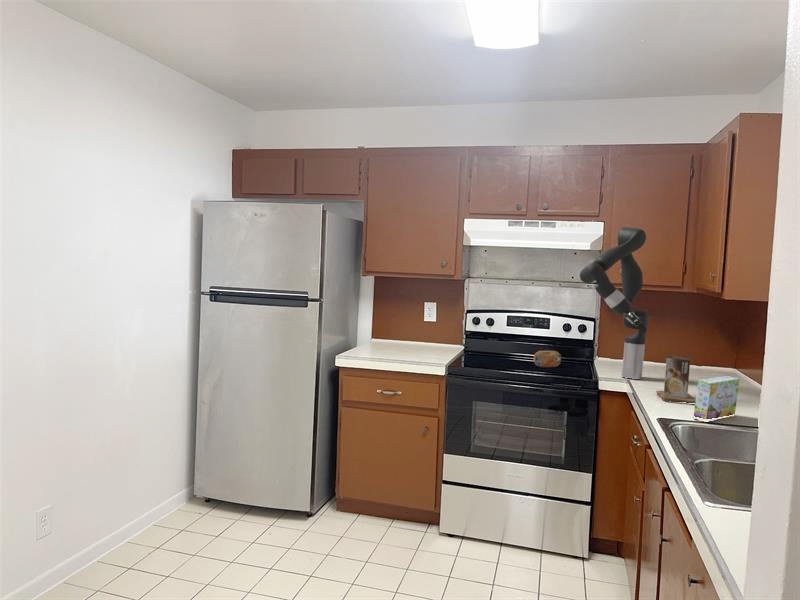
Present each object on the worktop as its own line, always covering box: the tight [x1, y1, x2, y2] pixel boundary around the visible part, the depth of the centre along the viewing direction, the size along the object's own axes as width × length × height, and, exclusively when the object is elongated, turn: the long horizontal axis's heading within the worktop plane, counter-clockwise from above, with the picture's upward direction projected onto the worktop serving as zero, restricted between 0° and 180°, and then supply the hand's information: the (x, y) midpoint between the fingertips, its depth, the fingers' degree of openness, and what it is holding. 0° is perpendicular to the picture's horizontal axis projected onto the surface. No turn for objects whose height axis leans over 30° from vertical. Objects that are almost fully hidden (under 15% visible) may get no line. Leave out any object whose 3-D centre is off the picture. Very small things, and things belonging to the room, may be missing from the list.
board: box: [655, 390, 696, 403], centre depth 251 cm, size 14×13×2 cm
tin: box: [533, 350, 562, 368], centre depth 309 cm, size 15×3×8 cm, turn 105°
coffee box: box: [663, 355, 691, 398], centre depth 250 cm, size 9×6×16 cm
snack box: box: [693, 375, 740, 419], centre depth 223 cm, size 21×6×15 cm, turn 126°
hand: (643, 330), depth 256 cm, fingers open, 8 cm apart
